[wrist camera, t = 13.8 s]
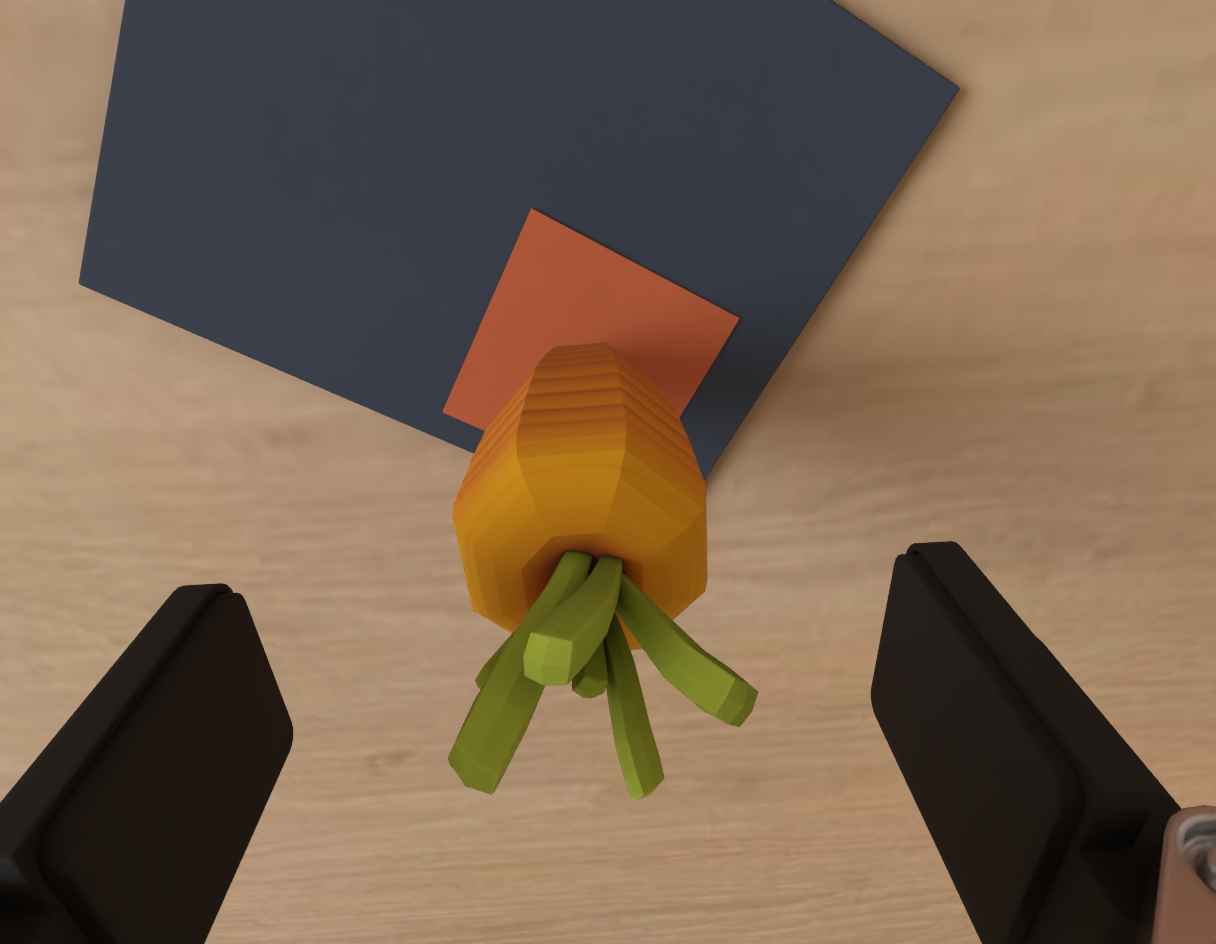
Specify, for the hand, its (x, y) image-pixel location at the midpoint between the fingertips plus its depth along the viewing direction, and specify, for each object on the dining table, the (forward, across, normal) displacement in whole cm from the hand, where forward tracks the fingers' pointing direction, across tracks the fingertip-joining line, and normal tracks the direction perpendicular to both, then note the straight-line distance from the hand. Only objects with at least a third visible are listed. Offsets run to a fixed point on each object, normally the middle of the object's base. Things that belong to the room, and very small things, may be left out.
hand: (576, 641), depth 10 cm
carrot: (+13, 0, 0) cm, 13 cm away
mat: (+14, +2, -5) cm, 15 cm away
